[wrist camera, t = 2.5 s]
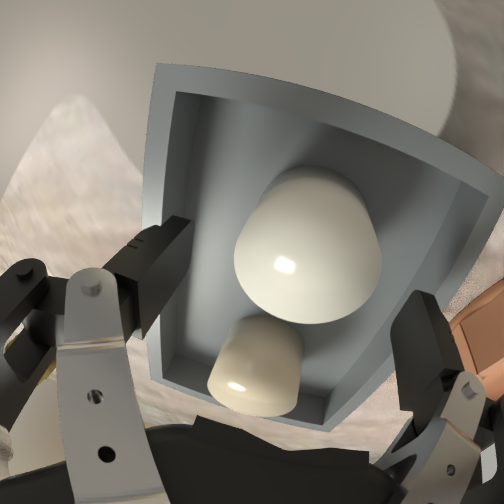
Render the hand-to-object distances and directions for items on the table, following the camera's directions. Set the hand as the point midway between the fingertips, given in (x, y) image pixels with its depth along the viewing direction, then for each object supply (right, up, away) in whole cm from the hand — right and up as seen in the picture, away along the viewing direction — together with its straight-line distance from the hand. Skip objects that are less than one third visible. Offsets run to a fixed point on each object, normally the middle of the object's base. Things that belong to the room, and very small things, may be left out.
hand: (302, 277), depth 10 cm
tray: (0, -1, +7) cm, 7 cm away
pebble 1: (-1, -5, +8) cm, 10 cm away
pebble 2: (+1, +2, +3) cm, 4 cm away
